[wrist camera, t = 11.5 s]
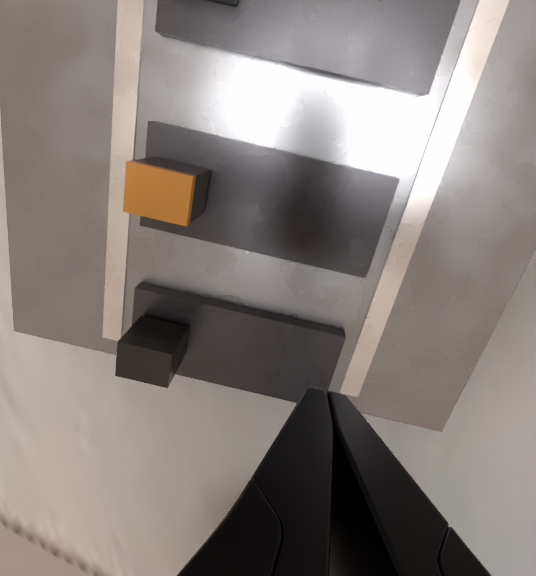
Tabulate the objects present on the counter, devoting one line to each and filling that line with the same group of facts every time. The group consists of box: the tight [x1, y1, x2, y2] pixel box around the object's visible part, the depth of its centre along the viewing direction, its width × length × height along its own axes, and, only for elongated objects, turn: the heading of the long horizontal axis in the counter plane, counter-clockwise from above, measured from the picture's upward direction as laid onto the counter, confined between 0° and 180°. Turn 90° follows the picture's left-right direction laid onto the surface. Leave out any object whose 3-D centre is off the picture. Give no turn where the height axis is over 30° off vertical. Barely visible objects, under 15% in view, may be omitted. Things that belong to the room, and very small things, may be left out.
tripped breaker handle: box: [123, 157, 210, 227], centre depth 15 cm, size 2×2×3 cm
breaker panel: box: [0, 0, 536, 432], centre depth 16 cm, size 20×24×5 cm
